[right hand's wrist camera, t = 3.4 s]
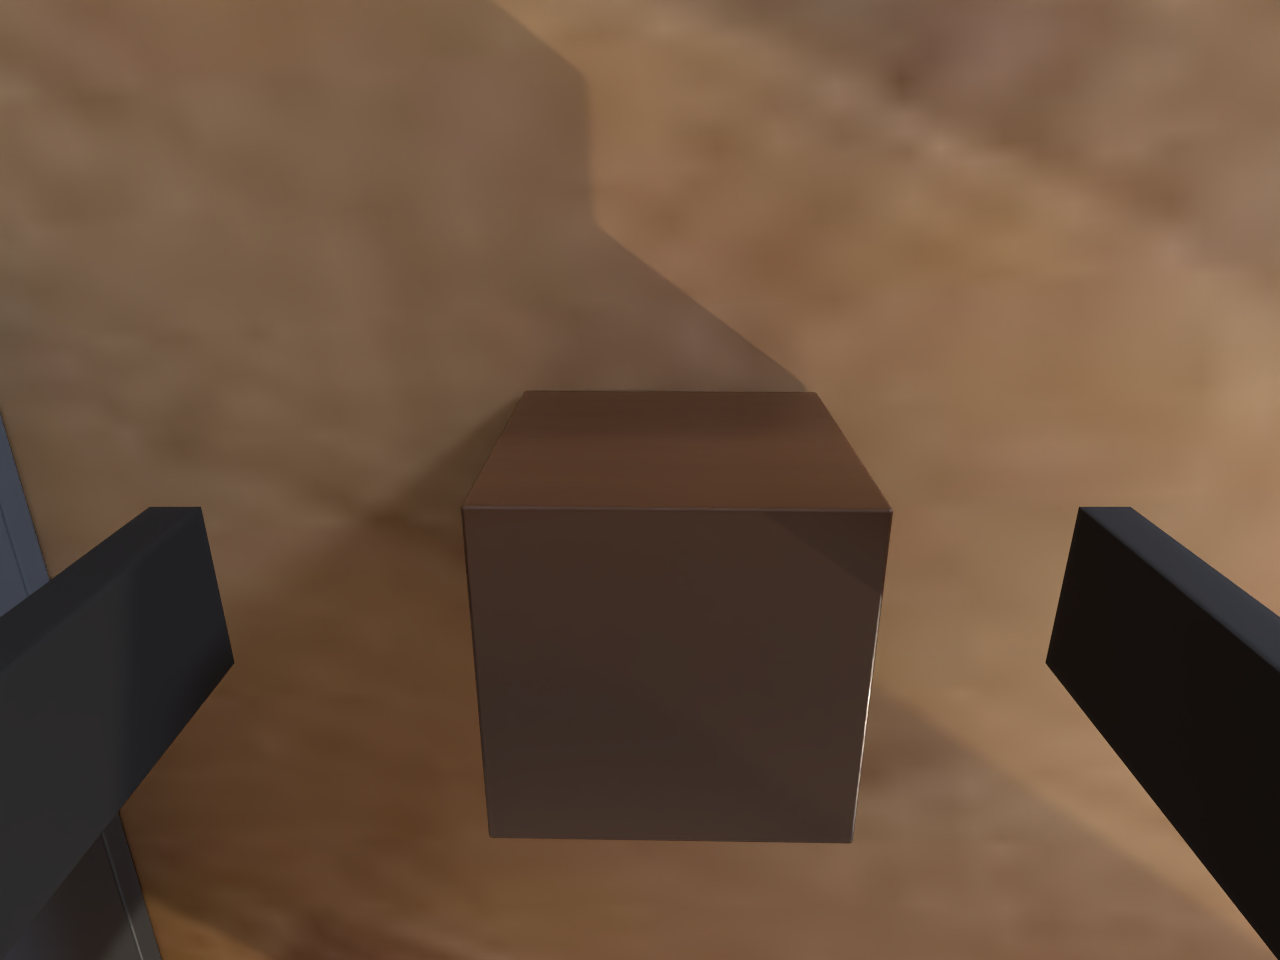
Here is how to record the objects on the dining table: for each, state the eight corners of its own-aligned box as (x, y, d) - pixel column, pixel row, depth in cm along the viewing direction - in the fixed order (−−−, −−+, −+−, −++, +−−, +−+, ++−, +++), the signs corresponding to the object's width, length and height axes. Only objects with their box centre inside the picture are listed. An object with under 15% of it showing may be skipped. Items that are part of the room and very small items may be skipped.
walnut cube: (524, 390, 14) (459, 505, 10) (816, 391, 14) (894, 509, 10) (537, 640, 16) (488, 839, 11) (796, 643, 16) (853, 844, 11)
